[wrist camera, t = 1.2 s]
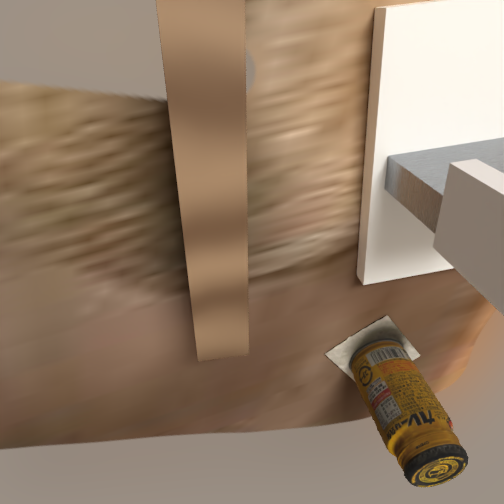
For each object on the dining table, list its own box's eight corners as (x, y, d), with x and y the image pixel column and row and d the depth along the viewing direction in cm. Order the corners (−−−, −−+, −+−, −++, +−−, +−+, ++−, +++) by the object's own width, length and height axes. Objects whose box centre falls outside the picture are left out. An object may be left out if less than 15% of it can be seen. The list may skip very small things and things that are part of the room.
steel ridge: (387, 155, 27) (458, 206, 20) (508, 136, 27) (614, 179, 21) (384, 188, 28) (449, 246, 21) (499, 169, 29) (596, 220, 22)
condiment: (362, 388, 43) (418, 502, 33) (324, 352, 39) (375, 472, 29) (419, 354, 42) (495, 463, 32) (385, 313, 37) (462, 425, 27)
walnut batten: (157, -13, 21) (153, -16, 17) (231, -13, 21) (244, -16, 17) (195, 317, 34) (198, 361, 30) (240, 312, 35) (249, 354, 30)
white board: (375, 7, 23) (386, 7, 22) (544, -14, 24) (565, -15, 23) (356, 274, 34) (363, 285, 33) (472, 253, 35) (483, 262, 34)
